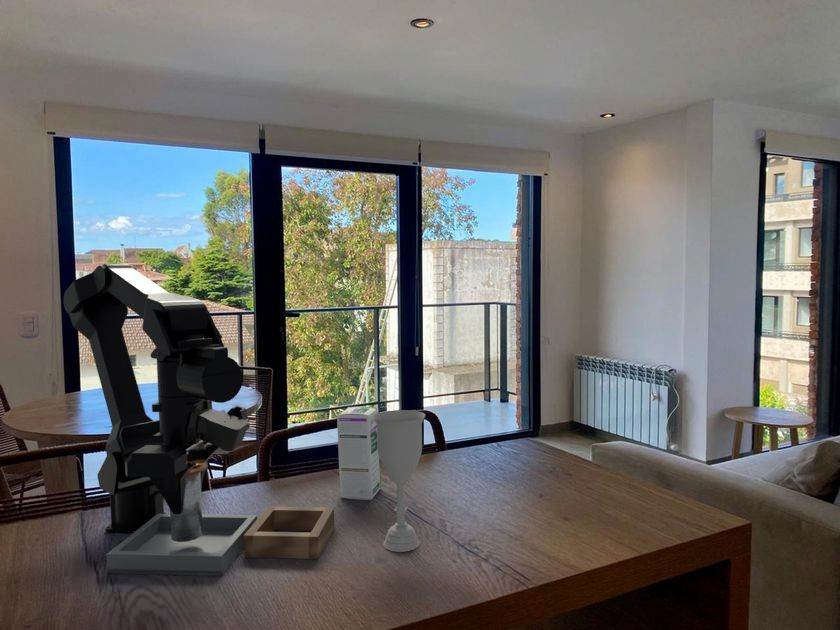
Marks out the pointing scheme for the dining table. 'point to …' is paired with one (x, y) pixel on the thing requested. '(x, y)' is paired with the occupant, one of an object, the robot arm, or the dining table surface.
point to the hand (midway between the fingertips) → (185, 506)
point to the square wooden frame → (289, 533)
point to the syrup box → (358, 453)
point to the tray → (181, 547)
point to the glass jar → (190, 506)
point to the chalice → (400, 466)
